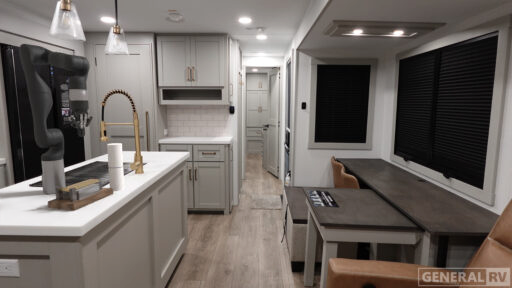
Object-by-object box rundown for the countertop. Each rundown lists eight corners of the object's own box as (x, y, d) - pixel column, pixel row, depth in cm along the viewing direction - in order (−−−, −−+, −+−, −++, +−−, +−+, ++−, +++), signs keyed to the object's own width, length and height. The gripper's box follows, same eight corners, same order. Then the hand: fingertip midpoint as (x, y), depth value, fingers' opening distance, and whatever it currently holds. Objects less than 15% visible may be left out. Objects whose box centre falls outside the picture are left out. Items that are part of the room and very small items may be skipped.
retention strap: (59, 191, 126) (59, 188, 125) (90, 181, 143) (90, 178, 143) (68, 192, 125) (68, 189, 124) (99, 182, 142) (98, 178, 142)
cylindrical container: (108, 191, 150) (105, 145, 147) (111, 187, 157) (108, 143, 153) (123, 190, 152) (120, 144, 148) (125, 186, 159) (123, 143, 155)
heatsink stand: (48, 207, 125) (46, 188, 124) (90, 191, 149) (89, 175, 147) (74, 210, 123) (72, 190, 121) (113, 193, 146) (112, 177, 144)
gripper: (83, 99, 138) (86, 134, 140) (59, 99, 125) (63, 137, 128) (96, 99, 136) (99, 135, 139) (73, 99, 124) (76, 138, 126)
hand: (81, 136), depth 133 cm, fingers closed
